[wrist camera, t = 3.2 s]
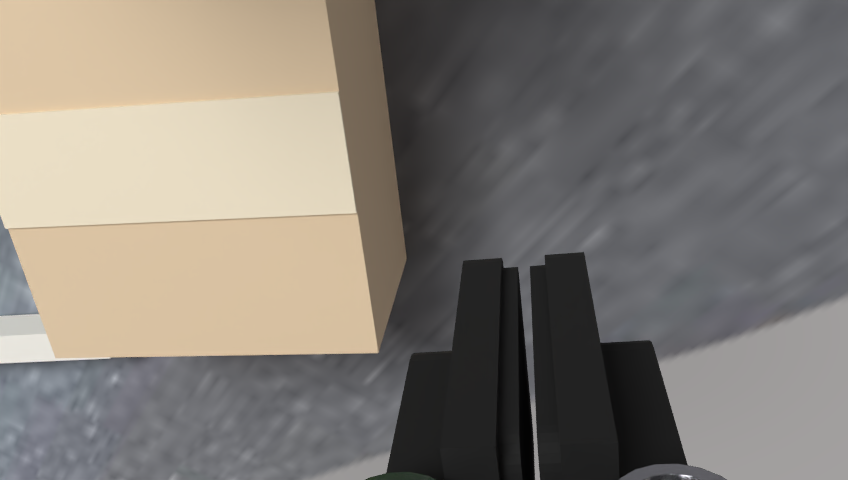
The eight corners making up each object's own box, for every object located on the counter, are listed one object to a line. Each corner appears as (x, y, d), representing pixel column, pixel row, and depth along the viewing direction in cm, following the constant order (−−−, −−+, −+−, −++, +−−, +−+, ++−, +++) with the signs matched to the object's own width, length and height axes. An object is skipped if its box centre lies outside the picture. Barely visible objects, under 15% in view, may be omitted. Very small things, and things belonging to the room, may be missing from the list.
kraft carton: (361, -118, 22) (307, -107, 17) (407, 255, 28) (378, 354, 22) (41, -83, 24) (-102, -63, 18) (142, 265, 29) (53, 360, 24)
